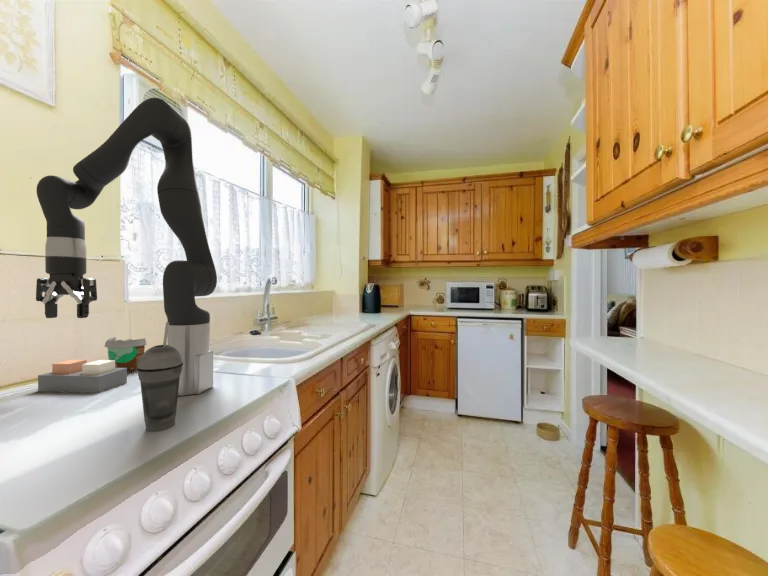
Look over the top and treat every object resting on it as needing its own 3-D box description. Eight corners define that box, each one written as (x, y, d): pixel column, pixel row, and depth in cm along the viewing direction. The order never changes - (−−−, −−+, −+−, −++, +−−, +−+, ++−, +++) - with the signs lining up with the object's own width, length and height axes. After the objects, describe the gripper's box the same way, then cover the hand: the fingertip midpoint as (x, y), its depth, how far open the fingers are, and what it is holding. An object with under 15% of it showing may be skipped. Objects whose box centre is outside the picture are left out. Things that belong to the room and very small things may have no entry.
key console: (126, 382, 86) (126, 368, 86) (99, 392, 78) (99, 376, 78) (71, 381, 86) (71, 366, 86) (38, 391, 78) (38, 375, 78)
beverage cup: (153, 418, 63) (153, 320, 63) (190, 417, 64) (191, 320, 63) (126, 435, 56) (126, 324, 56) (169, 434, 56) (169, 324, 56)
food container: (93, 372, 95) (93, 340, 94) (113, 367, 101) (114, 336, 101) (127, 375, 92) (127, 341, 92) (146, 369, 99) (146, 338, 98)
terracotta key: (86, 372, 84) (86, 359, 84) (69, 377, 80) (69, 364, 80) (70, 372, 84) (70, 359, 84) (52, 377, 80) (52, 363, 80)
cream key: (115, 373, 84) (115, 360, 84) (99, 378, 79) (99, 364, 79) (99, 372, 84) (99, 360, 84) (82, 377, 80) (82, 364, 80)
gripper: (106, 257, 85) (106, 316, 85) (56, 257, 85) (56, 316, 85) (77, 254, 77) (78, 319, 77) (23, 254, 78) (24, 319, 78)
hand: (66, 317), depth 81 cm, fingers open, 8 cm apart
